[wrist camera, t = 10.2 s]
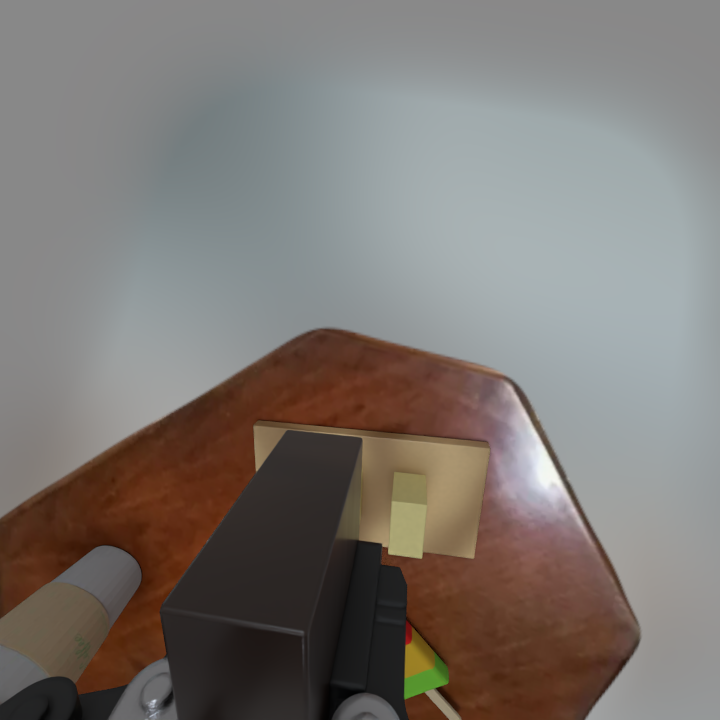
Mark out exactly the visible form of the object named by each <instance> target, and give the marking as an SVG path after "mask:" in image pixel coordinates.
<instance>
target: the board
mask: <svg viewBox="0 0 720 720" xmlns="http://www.w3.org/2000/svg"><path fill="white" fill-rule="evenodd" d="M253 429H254V446H255V463H256V472H257V471H258V469H259V468H260V467H261V465H262V464H263V462H264V461H265V460H266V458H267V457H268V455H269V454H270V453H271V451H272V450H273V448H274V447H275V446H276V444H277V443H278V441H279V440H280V439H281V437H282V436H283V434H284V433H285V432H286V431H287V430H294V431H304V432H314V433H324V434H334V435H344V436H353V437H361V438H362V440H363V448H362V469H363V482H362V508H361V520H360V525H359V540H362V541H369V542H376V543H382V547H389V531H390V516H391V501H392V490H393V479H394V472H400V473H410V474H419V475H426V489H427V514H426V524H425V534H424V544H423V552H427V553H435V554H442V555H450V556H457V557H465V558H472V559H474V554H475V547H476V541H477V534H478V527H479V521H480V514H481V508H482V501H483V495H484V488H485V481H486V475H487V468H488V462H489V455H490V446H489V444H488V442H481V441H471V440H460V439H450V438H439V437H429V436H418V435H408V434H397V433H387V432H376V431H365V430H355V429H344V428H334V427H323V426H313V425H302V424H292V423H281V422H271V421H260V420H258V421H257V422H256V423H255V424H254V426H253Z"/></svg>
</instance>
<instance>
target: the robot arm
mask: <svg viewBox="0 0 720 720" xmlns="http://www.w3.org/2000/svg"><path fill="white" fill-rule="evenodd" d="M381 560H382V543H376V542H369V541H362V540H358V543H357V547H356V552H355V557H354V562H353V567H352V572H351V577H350V582H349V587H348V592H347V597H346V603H345V608H344V613H343V618H342V623H341V628H340V633H339V638H338V643H337V648H336V653H335V658H334V663H333V668H332V673H331V678H330V685H329V720H409V719H408V716H407V712H406V708H405V701H404V685H405V647H406V606H407V584H406V582H405V579H404V577H403V574H402V572H401V569H400V567H394V566H387V565H381ZM0 720H178V718H177V712H176V706H175V700H174V694H173V688H172V682H171V677H170V671H169V665H168V659H167V654H166V656H165V657H164V658H163V659H161V660H158V661H156V662H154V663H152V664H150V665H149V666H147V667H146V668H144V669H143V670H142V671H141V672H139V673H138V674H137V675H136V676H135V677H134V678H133V680H132V681H131V682H130V683H129V684H127V685H125V686H121V687H117V688H112V689H107V690H102V691H96V692H91V693H86V694H81V695H78V692H77V688H76V685H75V684H74V682H73V681H72V680H71V679H69V678H66V677H62V676H56V677H49V678H46V679H42V680H40V681H37V682H35V683H33V684H31V685H29V686H28V687H26V688H24V689H23V690H21V691H20V692H18V693H17V694H15V695H14V696H12V697H11V698H10V699H8V700H7V701H5V702H4V703H2V704H1V705H0Z"/></svg>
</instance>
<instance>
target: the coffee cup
mask: <svg viewBox="0 0 720 720" xmlns="http://www.w3.org/2000/svg"><path fill="white" fill-rule="evenodd" d="M141 578H142V574H141V569H140V566H139V564H138V563H137V561H136V560H135V559H134V558H133V557H132V556H131V555H130V554H128V553H127V552H125V551H123V550H121V549H119V548H116V547H113V546H99V547H96V548H95V549H93V550H92V551H90V552H89V553H88V554H87V555H85V556H84V557H83V558H81V559H80V560H79V561H78V562H76V563H75V564H74V565H72V566H71V567H70V568H69V569H67V570H66V571H65V572H63V573H62V574H61V575H59V576H58V577H57V578H56V579H54V580H53V581H52V582H50V583H48V584H46V585H44V586H43V587H41V588H40V589H39V590H37V591H36V592H35V593H34V594H32V595H31V596H30V597H28V598H27V599H26V600H25V601H23V602H22V603H21V604H19V605H18V606H17V607H16V608H14V609H13V610H12V611H10V612H9V613H8V614H6V615H5V616H4V617H3V618H1V619H0V705H1V704H2V703H4V702H5V701H7V700H8V699H10V698H11V697H12V696H14V695H15V694H17V693H18V692H20V691H21V690H23V689H24V688H26V687H28V686H29V685H31V684H33V683H35V682H37V681H40V680H42V679H46V678H49V677H56V676H62V677H66V678H69V679H71V680H72V681H73V682H74V684H75V683H76V681H77V680H78V679H79V677H80V676H81V674H82V673H83V671H84V670H85V668H86V667H87V665H88V664H89V662H90V661H91V659H92V658H93V656H94V655H95V653H96V652H97V650H98V649H99V648H100V646H101V645H102V643H103V642H104V640H105V639H106V637H107V635H108V633H109V630H110V628H111V627H112V625H113V624H114V622H115V621H116V619H117V618H118V617H119V615H120V614H121V612H122V611H123V609H124V608H125V606H126V605H127V603H128V602H129V600H130V599H131V597H132V596H133V594H134V593H135V591H136V590H137V588H138V587H139V585H140V583H141Z"/></svg>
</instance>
